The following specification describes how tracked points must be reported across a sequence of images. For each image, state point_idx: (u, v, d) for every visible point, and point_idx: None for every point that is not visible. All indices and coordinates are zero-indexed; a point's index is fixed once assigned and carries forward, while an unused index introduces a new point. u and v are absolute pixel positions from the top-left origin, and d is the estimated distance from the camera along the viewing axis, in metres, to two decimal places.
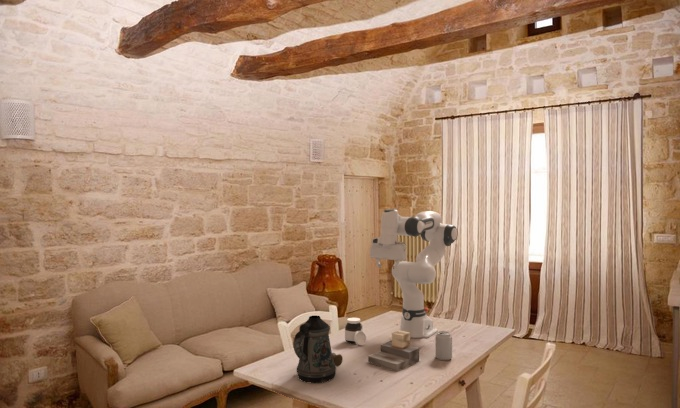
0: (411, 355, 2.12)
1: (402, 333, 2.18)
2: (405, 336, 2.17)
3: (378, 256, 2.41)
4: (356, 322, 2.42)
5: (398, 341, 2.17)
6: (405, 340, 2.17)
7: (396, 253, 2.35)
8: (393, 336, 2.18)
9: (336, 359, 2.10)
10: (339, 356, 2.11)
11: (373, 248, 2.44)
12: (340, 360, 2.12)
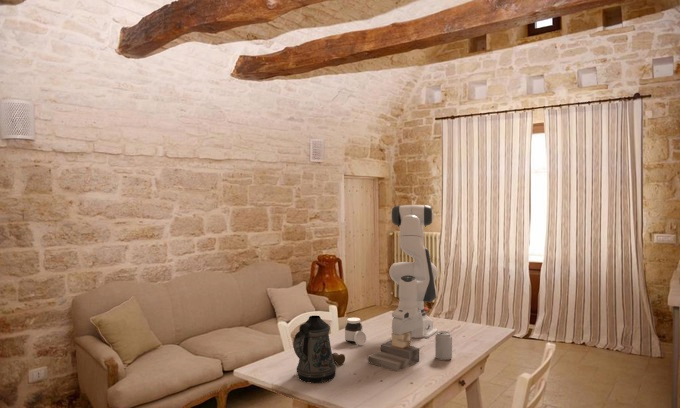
0: (411, 355, 2.12)
1: None
2: (405, 336, 2.17)
3: (405, 331, 2.19)
4: (356, 322, 2.42)
5: (398, 341, 2.17)
6: (405, 340, 2.17)
7: (418, 321, 2.26)
8: (393, 336, 2.18)
9: (339, 359, 2.11)
10: (342, 356, 2.12)
11: (401, 324, 2.16)
12: (343, 359, 2.12)
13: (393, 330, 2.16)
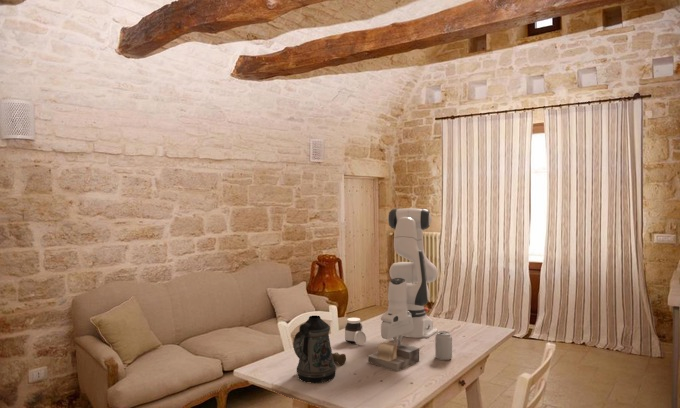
0: (411, 355, 2.12)
1: (385, 354, 2.09)
2: (389, 355, 2.08)
3: (395, 335, 2.13)
4: (356, 322, 2.42)
5: None
6: (392, 354, 2.10)
7: (409, 325, 2.21)
8: None
9: (340, 358, 2.11)
10: (343, 355, 2.12)
11: (390, 328, 2.11)
12: (344, 359, 2.13)
13: (382, 334, 2.11)
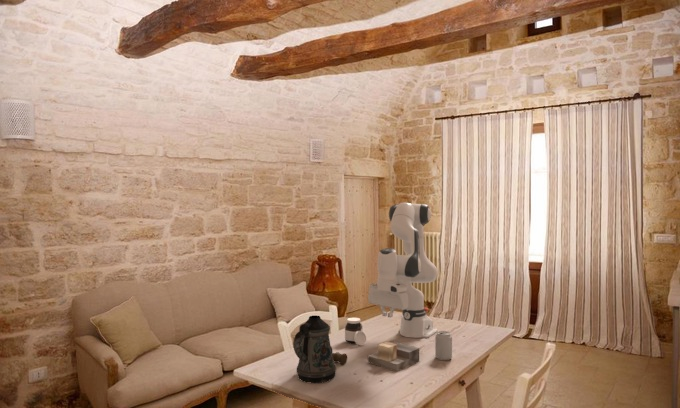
0: (411, 355, 2.12)
1: (385, 354, 2.09)
2: (389, 355, 2.08)
3: None
4: (356, 322, 2.42)
5: None
6: (392, 354, 2.10)
7: None
8: None
9: (342, 358, 2.11)
10: (344, 355, 2.13)
11: None
12: (345, 359, 2.13)
13: (404, 305, 2.04)
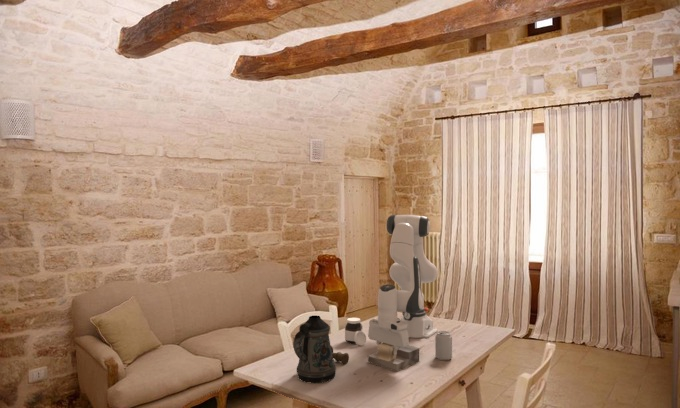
0: (411, 355, 2.12)
1: (385, 354, 2.09)
2: (389, 355, 2.08)
3: None
4: (356, 322, 2.42)
5: None
6: None
7: None
8: None
9: (344, 358, 2.12)
10: (346, 355, 2.13)
11: None
12: (347, 358, 2.14)
13: (404, 343, 2.04)
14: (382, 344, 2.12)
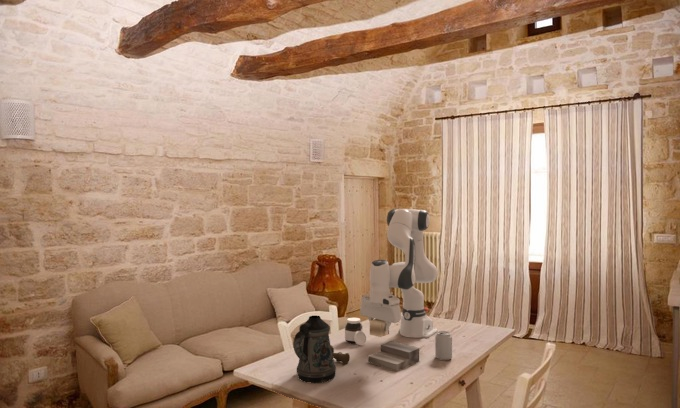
0: (411, 355, 2.12)
1: (376, 330, 2.05)
2: (381, 330, 2.04)
3: None
4: (356, 322, 2.42)
5: None
6: None
7: None
8: None
9: (345, 358, 2.12)
10: (347, 355, 2.13)
11: None
12: (348, 359, 2.14)
13: (397, 318, 2.00)
14: (374, 320, 2.08)
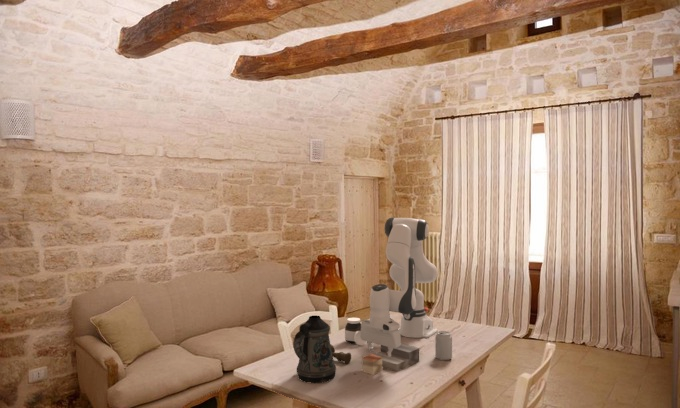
0: (411, 355, 2.12)
1: None
2: (378, 370, 2.03)
3: None
4: (356, 322, 2.42)
5: None
6: (378, 366, 2.03)
7: None
8: None
9: (346, 357, 2.12)
10: (349, 354, 2.14)
11: None
12: (350, 358, 2.14)
13: (397, 344, 2.00)
14: (364, 368, 2.04)
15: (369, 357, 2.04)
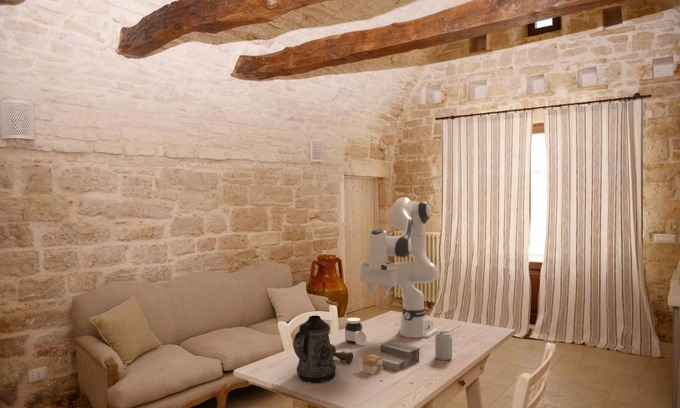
0: (411, 355, 2.12)
1: None
2: (378, 370, 2.03)
3: None
4: (356, 322, 2.42)
5: None
6: (378, 366, 2.03)
7: None
8: None
9: (349, 357, 2.13)
10: (351, 354, 2.14)
11: None
12: (352, 358, 2.15)
13: (394, 282, 2.15)
14: (364, 368, 2.04)
15: (369, 357, 2.04)
